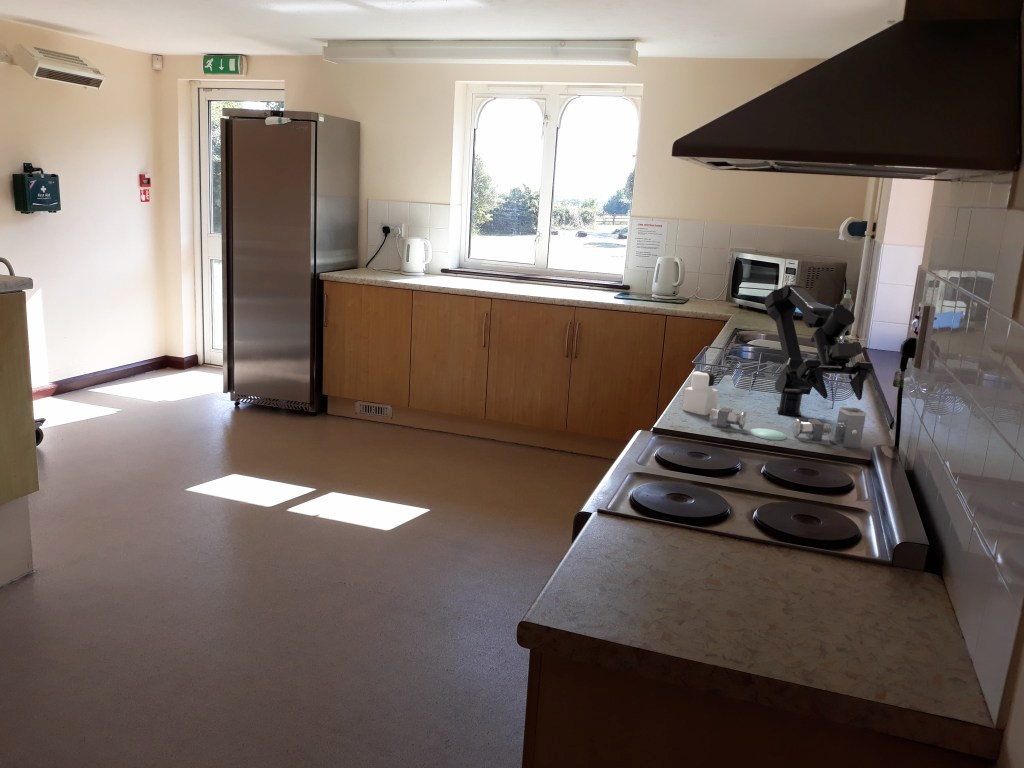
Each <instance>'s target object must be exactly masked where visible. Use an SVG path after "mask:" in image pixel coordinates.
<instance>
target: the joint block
mask: <svg viewBox="0 0 1024 768" xmlns="http://www.w3.org/2000/svg"><path fill="white" fill-rule="evenodd" d="M866 416H867V412H866V411H864V410H862V409H860V408H857V407H843V406H839V407H838V414H837V421H836V428H835V433H834V439H833V442H834V443H835V444H837V445H838V446H840V447H842V448H856V449H860V448H861V443H862V439H863V438H862V437H863V432H864V427H865V422H866Z"/></svg>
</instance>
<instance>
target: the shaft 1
mask: <svg viewBox="0 0 1024 768" xmlns="http://www.w3.org/2000/svg"><path fill="white" fill-rule="evenodd" d="M709 418H710V420H714V421H717V426H716V427H719V428H724V429H726V428H727V427H728V426H730V424H734V425H739V428H740V429H743V428H744V425H745V422H746V421H747V412H745V411H742V412H741V413H738V412H737V413H736V412H733V408H730V407H725V406H723V407H721V408H720V409H717V408H716V409H712V410H711V412H710V414H709ZM746 423H747V422H746Z"/></svg>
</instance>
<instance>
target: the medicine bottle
mask: <svg viewBox="0 0 1024 768" xmlns="http://www.w3.org/2000/svg"><path fill="white" fill-rule="evenodd" d="M715 377H716V376H715V374H714V373H713V372H710V371H708V370H695V371H693V372H692V376H691V383H690V386H688V387H685V388H684V389H683V396H682V397H683V398H682V404H681V405H682V406H681V410H682V411H686V412H689V413H693V414H698V415H702V416H706V415H707V416H708V415H710V412H711V410H712V409H717V406H718V399H719V390H718V389H715V388H714V383H715Z"/></svg>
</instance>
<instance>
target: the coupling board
mask: <svg viewBox="0 0 1024 768" xmlns="http://www.w3.org/2000/svg"><path fill="white" fill-rule="evenodd" d="M707 425H708V426H707V428H708V429H710V430H711V429H712V430H718V431H725V432H726V431H727V432H732V433H733V432H735V433H739V434H740V433H741V434H748V435H752V436H754V437H756V438H760V439H764V440H770V441H783V440H791V441H798V442H805V443H812V444H813V443H814V444H819V445H828V446H831V445H832V444H831V442H830V440H829V436H825V435H822V441H812V440H811V439H809V438H808V437H807V436H806V434H799V436H794V435H793V432H792V428H790V427H782V426H777V425H776V426H775V425H768V424H762V423H753V422H745V425H744V428H743V429H740V428H739V425H734V424H730V426H728V427H727V428H726V429H724V428H719V427H716V426H717V421H714V420H710V417H708V424H707Z"/></svg>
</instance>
